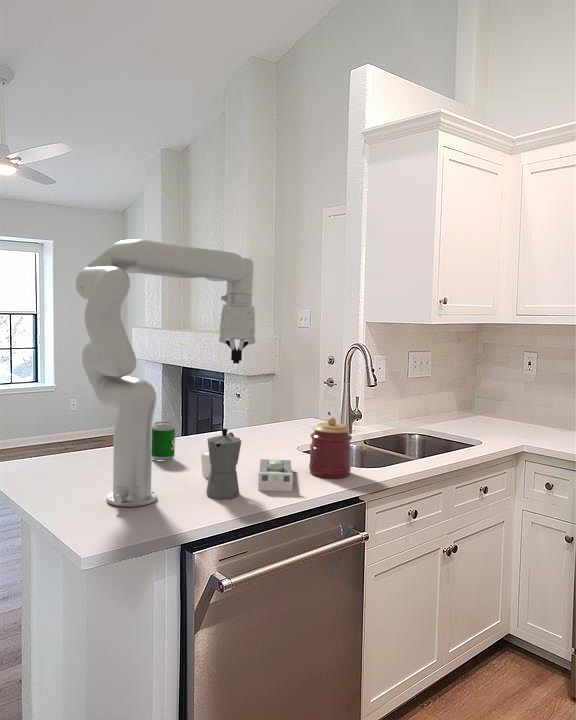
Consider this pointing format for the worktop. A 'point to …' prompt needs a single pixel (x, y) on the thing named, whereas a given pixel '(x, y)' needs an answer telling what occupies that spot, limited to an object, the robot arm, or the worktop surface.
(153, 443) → the soda can
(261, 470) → the button board
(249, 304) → the robot arm
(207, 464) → the white cup
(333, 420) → the canister
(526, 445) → the worktop surface
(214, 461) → the coffeepot
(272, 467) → the button middle
